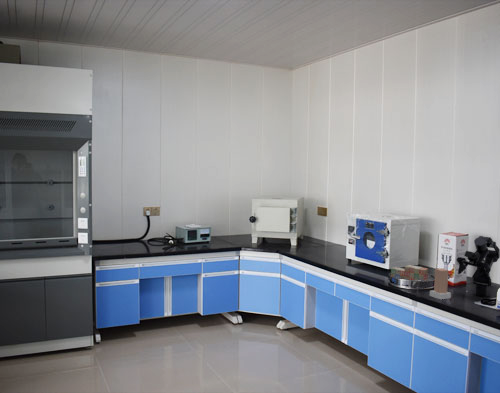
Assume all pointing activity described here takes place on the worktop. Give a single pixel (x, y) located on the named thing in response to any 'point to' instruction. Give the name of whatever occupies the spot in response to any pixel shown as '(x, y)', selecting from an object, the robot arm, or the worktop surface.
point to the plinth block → (440, 295)
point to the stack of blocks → (410, 273)
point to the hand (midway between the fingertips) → (465, 276)
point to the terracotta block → (441, 280)
